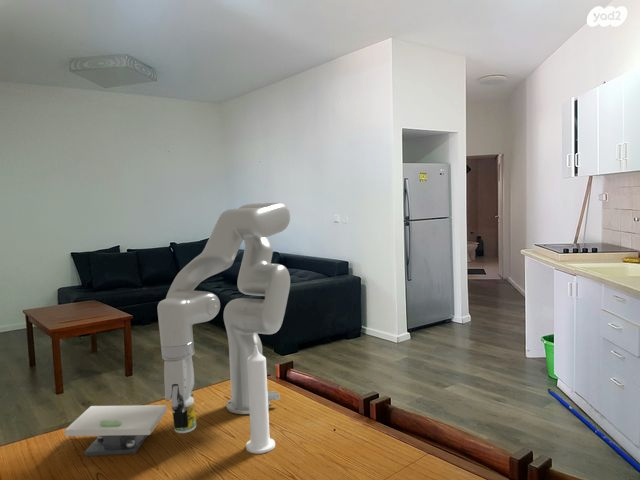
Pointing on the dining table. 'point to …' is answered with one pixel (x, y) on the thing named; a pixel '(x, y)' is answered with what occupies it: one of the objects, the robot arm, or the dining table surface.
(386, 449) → the dining table surface
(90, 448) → the tribrach base
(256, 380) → the candle
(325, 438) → the dining table surface
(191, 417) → the supplement bottle
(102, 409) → the level board
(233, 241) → the robot arm
